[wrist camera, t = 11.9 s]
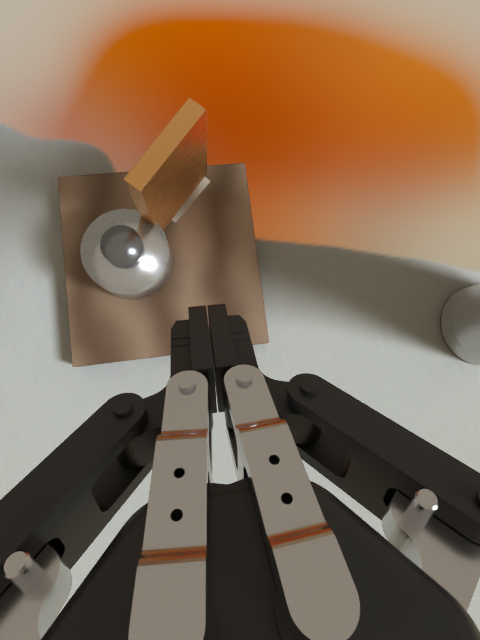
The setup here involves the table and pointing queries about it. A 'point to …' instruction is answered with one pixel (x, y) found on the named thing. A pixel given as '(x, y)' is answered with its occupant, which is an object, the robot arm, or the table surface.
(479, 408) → the table surface
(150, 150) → the lock handle
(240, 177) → the base
